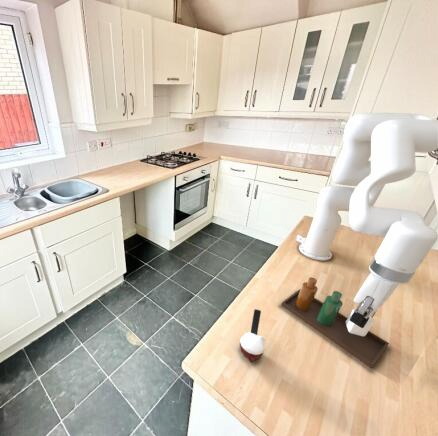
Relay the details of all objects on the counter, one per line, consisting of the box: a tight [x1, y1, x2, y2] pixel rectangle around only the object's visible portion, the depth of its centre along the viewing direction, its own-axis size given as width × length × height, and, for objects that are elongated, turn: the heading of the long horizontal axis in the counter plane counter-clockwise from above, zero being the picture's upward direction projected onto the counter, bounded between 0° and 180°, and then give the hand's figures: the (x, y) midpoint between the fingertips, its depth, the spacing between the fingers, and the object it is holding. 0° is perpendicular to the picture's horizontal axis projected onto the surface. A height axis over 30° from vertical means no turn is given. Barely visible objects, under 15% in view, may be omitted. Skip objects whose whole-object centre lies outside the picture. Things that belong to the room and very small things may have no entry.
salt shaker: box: [346, 306, 376, 336], centre depth 68 cm, size 4×4×10 cm
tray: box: [280, 288, 390, 369], centre depth 76 cm, size 25×11×2 cm, turn 33°
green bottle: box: [317, 290, 344, 326], centre depth 74 cm, size 4×4×12 cm
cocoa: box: [239, 308, 265, 364], centre depth 66 cm, size 10×6×12 cm, turn 136°
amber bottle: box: [295, 276, 319, 311], centre depth 80 cm, size 4×4×12 cm
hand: (361, 318), depth 68 cm, fingers closed on salt shaker, 5 cm apart
